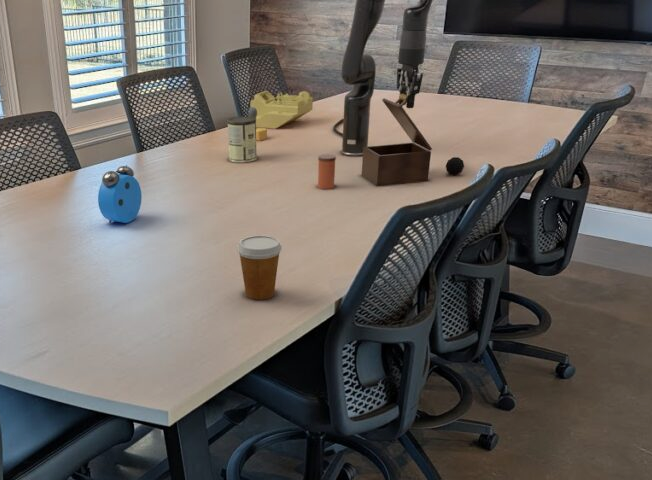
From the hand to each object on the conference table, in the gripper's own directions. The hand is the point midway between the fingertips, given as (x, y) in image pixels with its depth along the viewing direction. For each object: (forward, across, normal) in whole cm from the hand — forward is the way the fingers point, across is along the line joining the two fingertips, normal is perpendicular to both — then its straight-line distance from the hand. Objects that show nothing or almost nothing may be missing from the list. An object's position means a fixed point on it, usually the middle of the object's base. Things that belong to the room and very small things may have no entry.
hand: (406, 106), depth 223 cm
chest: (+22, 0, +2) cm, 22 cm away
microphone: (+22, +3, -22) cm, 32 cm away
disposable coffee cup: (+23, -78, +66) cm, 105 cm away
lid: (+6, 0, -1) cm, 6 cm away
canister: (+23, -2, +26) cm, 34 cm away
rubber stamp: (+23, +74, +31) cm, 83 cm away
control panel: (+23, +97, +14) cm, 101 cm away
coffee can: (+23, +42, +43) cm, 64 cm away
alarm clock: (+24, -17, +91) cm, 96 cm away
